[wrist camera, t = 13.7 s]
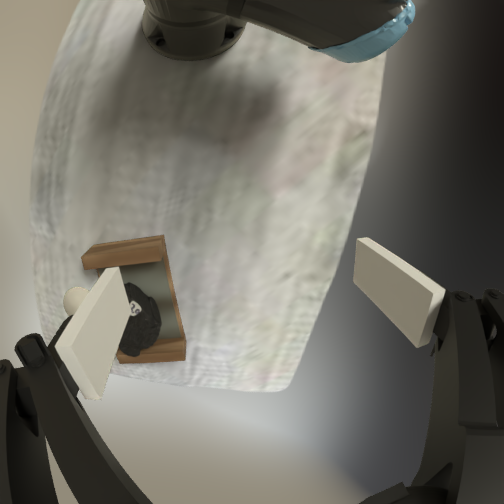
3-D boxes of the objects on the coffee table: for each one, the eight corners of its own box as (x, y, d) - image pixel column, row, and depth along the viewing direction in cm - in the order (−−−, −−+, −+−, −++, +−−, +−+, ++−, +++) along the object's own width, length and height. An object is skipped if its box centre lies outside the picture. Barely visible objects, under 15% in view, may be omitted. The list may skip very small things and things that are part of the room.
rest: (93, 244, 38) (81, 257, 34) (163, 235, 40) (158, 246, 35) (125, 345, 46) (119, 363, 41) (186, 341, 47) (185, 360, 42)
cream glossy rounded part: (59, 289, 40) (57, 291, 39) (93, 283, 41) (91, 285, 40) (75, 325, 43) (73, 327, 42) (109, 322, 44) (107, 324, 43)
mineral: (96, 303, 40) (85, 322, 35) (129, 272, 39) (120, 290, 34) (138, 341, 44) (132, 363, 39) (173, 316, 43) (170, 337, 38)
